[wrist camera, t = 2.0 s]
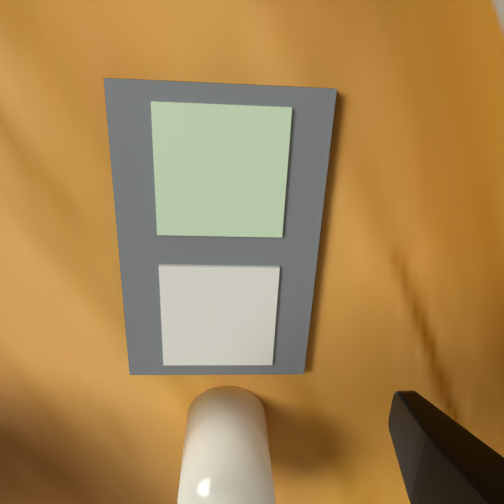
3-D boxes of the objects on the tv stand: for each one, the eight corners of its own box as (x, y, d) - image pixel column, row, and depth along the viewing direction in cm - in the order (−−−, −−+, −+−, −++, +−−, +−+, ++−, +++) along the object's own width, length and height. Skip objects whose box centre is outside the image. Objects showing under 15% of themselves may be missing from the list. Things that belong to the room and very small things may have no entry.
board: (302, 366, 23) (304, 376, 22) (132, 367, 22) (128, 377, 21) (333, 88, 17) (338, 88, 16) (107, 77, 16) (102, 78, 16)
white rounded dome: (263, 445, 25) (273, 551, 19) (187, 446, 24) (176, 554, 19) (267, 385, 23) (280, 483, 17) (186, 386, 23) (173, 486, 17)
